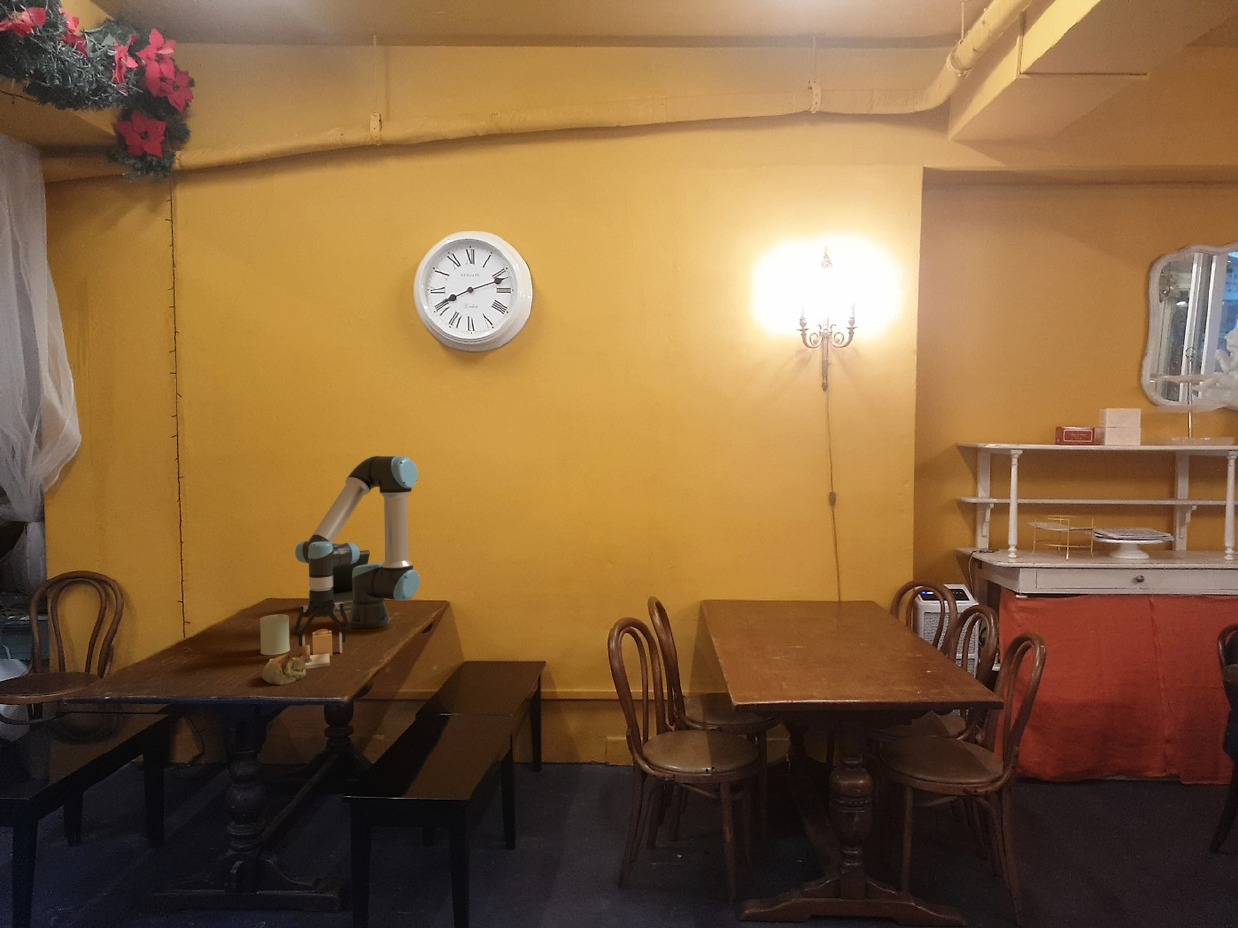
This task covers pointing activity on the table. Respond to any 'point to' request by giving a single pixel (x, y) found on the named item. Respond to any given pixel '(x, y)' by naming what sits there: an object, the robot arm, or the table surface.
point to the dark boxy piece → (346, 583)
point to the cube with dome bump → (322, 642)
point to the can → (274, 634)
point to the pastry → (284, 669)
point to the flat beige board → (314, 658)
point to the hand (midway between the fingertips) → (322, 653)
